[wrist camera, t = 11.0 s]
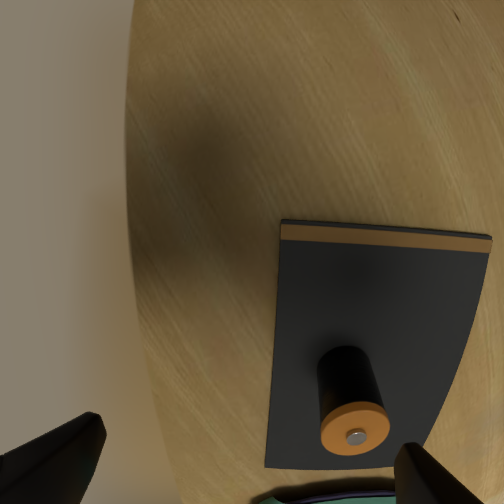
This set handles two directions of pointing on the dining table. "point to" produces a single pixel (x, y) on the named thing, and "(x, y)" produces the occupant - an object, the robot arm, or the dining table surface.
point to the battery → (350, 402)
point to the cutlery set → (345, 498)
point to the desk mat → (369, 328)
